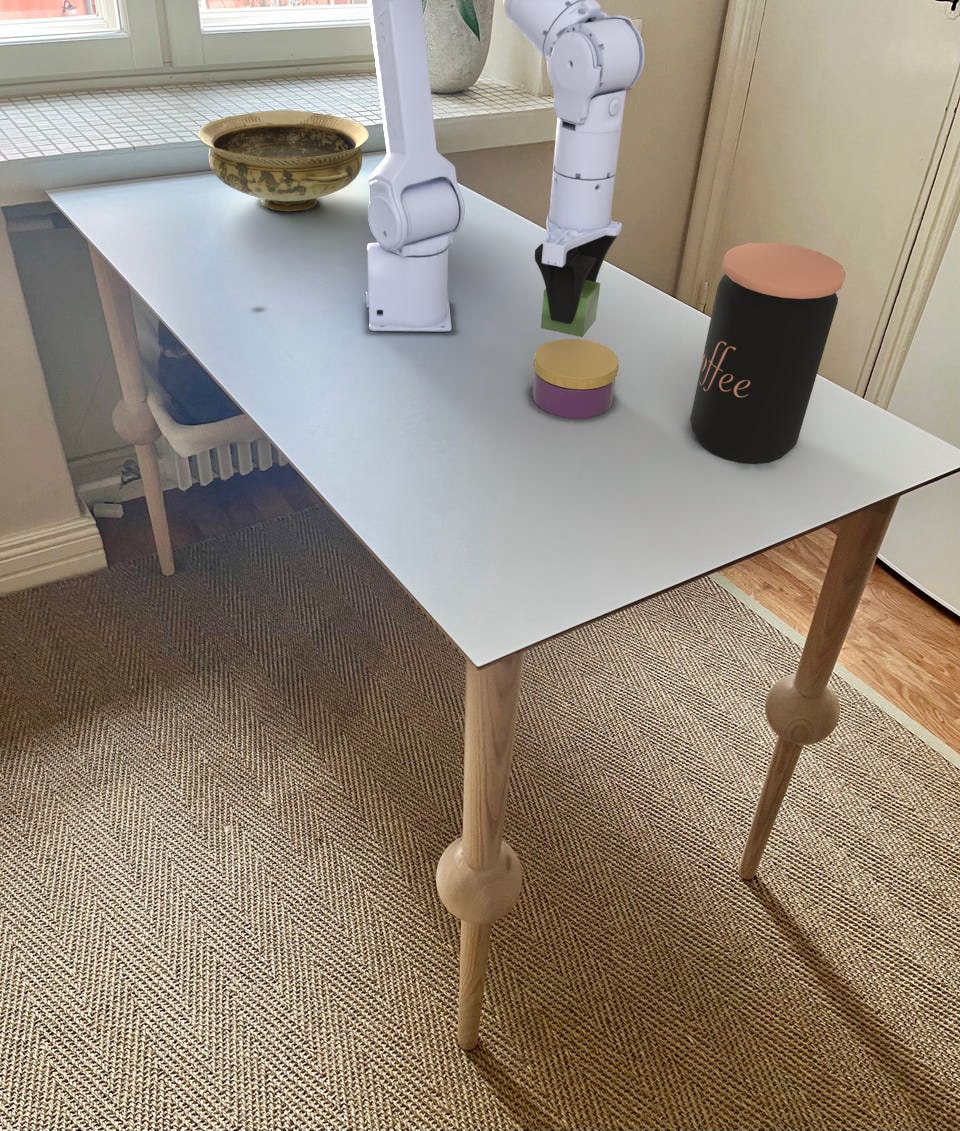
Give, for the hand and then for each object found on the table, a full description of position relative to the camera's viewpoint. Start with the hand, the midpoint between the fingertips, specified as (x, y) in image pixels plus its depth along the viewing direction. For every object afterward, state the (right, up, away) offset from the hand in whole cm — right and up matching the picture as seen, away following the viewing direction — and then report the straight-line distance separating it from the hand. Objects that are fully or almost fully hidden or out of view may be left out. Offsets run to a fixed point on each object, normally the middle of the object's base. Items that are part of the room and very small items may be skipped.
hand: (569, 311), depth 97 cm
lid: (+1, -4, +3) cm, 5 cm away
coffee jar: (+17, -13, +1) cm, 21 cm away
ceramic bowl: (-37, +29, +48) cm, 67 cm away
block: (0, -1, +1) cm, 1 cm away
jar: (+1, -8, +6) cm, 10 cm away
